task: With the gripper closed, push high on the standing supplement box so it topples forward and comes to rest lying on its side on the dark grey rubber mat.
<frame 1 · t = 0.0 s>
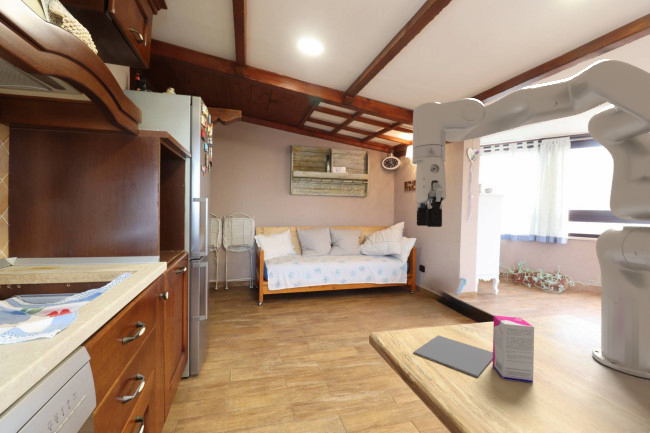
hand: (428, 226, 68), 31 cm above the table, tool pointing down, fingers open, 9 cm apart
mat: (454, 354, 68), on the table
supplement box: (511, 374, 60), on the table
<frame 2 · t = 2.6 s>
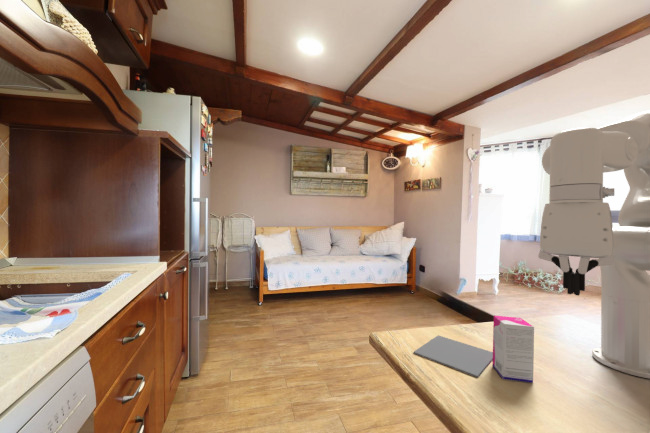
hand: (573, 293, 52), 19 cm above the table, tool pointing down, fingers closed
nothing on the table moved.
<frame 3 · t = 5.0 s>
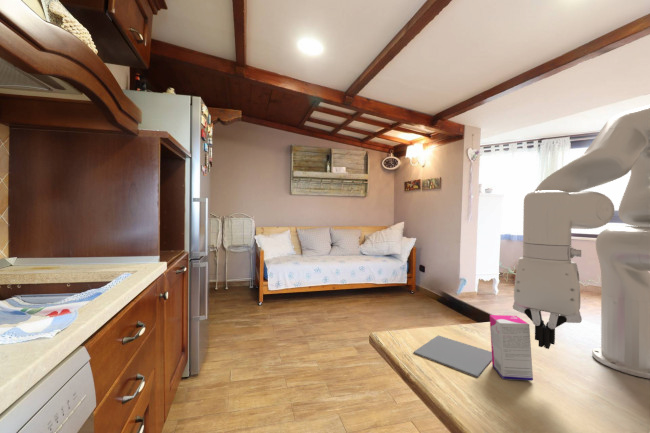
hand: (544, 345, 55), 8 cm above the table, tool pointing down, fingers closed
supplement box: (512, 373, 60), on the table, touching gripper
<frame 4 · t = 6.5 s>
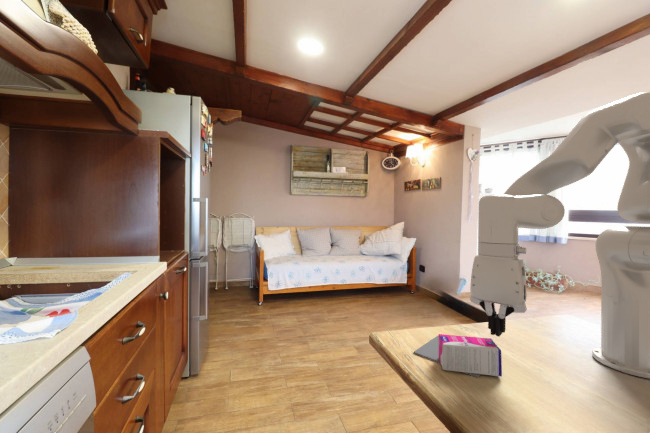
hand: (496, 333, 62), 8 cm above the table, tool pointing down, fingers closed
supplement box: (497, 356, 60), point 3 cm above the table, touching mat
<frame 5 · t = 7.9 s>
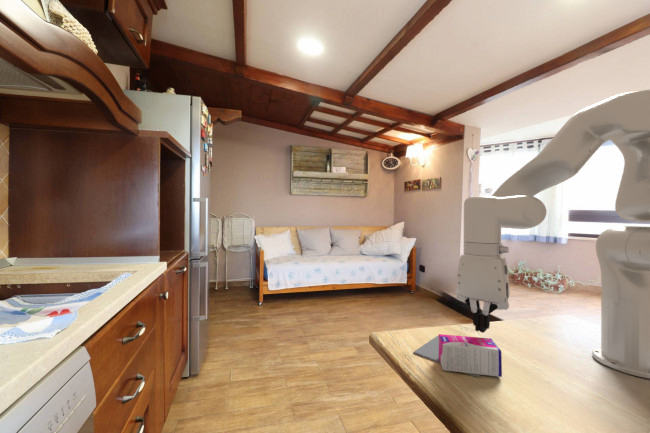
hand: (481, 329, 64), 8 cm above the table, tool pointing down, fingers closed
nothing on the table moved.
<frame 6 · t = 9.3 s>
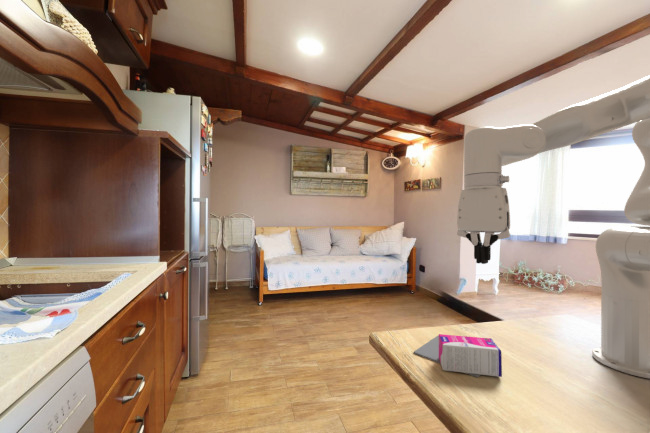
hand: (482, 262, 64), 23 cm above the table, tool pointing down, fingers closed
nothing on the table moved.
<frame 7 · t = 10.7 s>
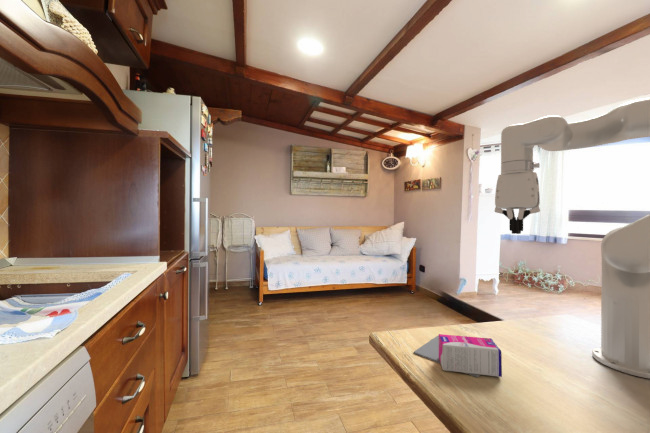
hand: (516, 233, 79), 29 cm above the table, tool pointing down, fingers closed
nothing on the table moved.
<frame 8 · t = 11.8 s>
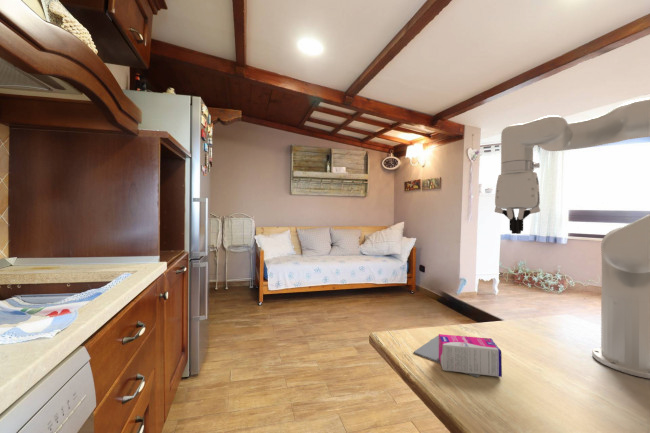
hand: (516, 233, 79), 29 cm above the table, tool pointing down, fingers closed
nothing on the table moved.
at the end: supplement box tilted 92°; supplement box inside the target area (3.6 cm from its centre), point 3.4 cm above the table; supplement box touching mat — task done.
